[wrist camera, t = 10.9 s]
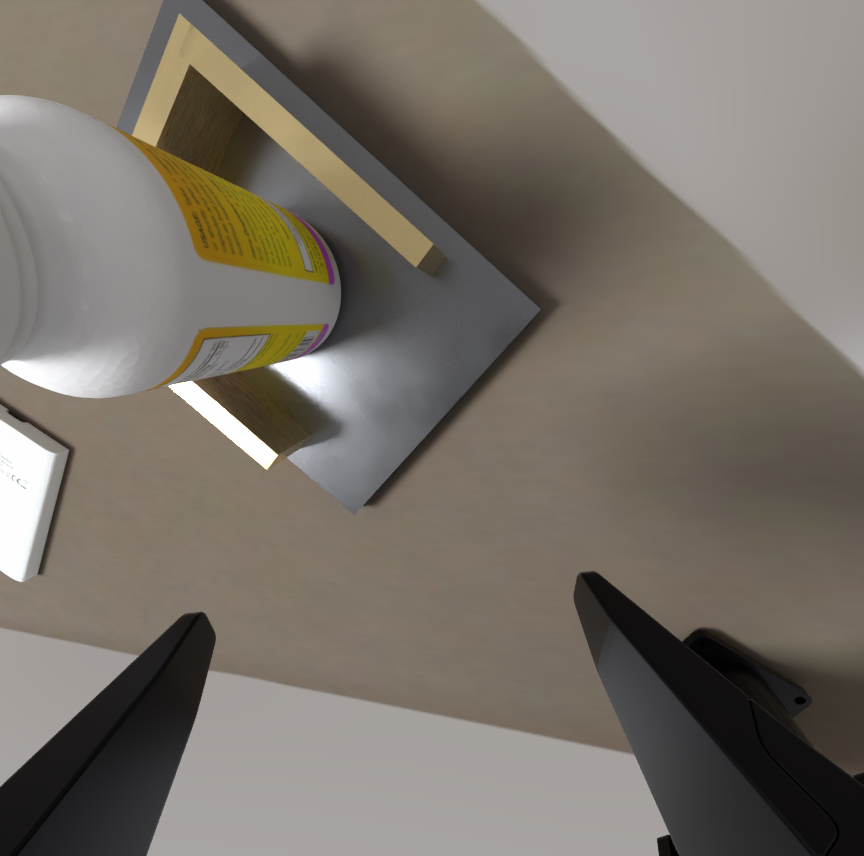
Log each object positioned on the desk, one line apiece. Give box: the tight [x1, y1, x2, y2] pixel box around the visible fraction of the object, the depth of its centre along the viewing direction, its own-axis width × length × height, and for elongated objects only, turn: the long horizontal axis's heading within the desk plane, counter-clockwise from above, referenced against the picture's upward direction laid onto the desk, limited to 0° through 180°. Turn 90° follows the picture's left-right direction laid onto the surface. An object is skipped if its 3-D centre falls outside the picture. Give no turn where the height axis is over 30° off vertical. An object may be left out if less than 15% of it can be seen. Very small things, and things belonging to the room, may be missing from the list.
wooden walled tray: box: [117, 0, 541, 515], centre depth 17 cm, size 20×14×4 cm
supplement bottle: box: [0, 95, 341, 398], centre depth 12 cm, size 7×7×13 cm
